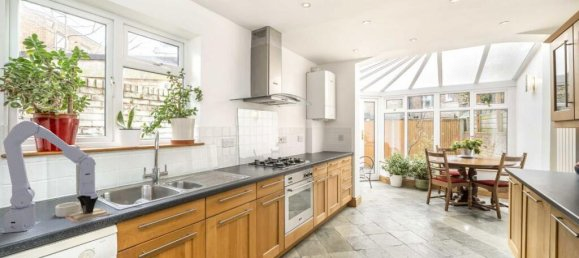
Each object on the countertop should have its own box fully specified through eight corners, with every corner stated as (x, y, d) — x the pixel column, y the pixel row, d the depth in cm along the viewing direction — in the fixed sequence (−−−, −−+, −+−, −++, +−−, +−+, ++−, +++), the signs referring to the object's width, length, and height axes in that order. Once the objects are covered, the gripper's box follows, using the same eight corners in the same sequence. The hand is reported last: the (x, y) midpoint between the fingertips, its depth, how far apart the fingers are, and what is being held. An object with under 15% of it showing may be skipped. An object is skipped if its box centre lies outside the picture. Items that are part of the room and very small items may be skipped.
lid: (106, 213, 122) (106, 204, 122) (78, 220, 113) (77, 210, 112) (96, 209, 128) (96, 200, 128) (68, 215, 118) (68, 206, 118)
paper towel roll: (98, 200, 145) (97, 162, 145) (88, 203, 139) (88, 164, 139) (86, 199, 146) (85, 162, 145) (76, 203, 140) (75, 163, 139)
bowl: (74, 216, 119) (74, 206, 119) (51, 218, 117) (50, 208, 117) (84, 210, 128) (84, 201, 128) (62, 211, 125) (62, 202, 125)
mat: (111, 213, 122) (111, 213, 122) (75, 223, 110) (75, 222, 110) (98, 208, 130) (98, 208, 130) (63, 217, 118) (63, 216, 118)
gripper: (104, 182, 119) (104, 211, 120) (90, 179, 127) (91, 206, 127) (86, 185, 113) (86, 216, 114) (73, 181, 121) (73, 210, 121)
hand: (87, 211), depth 120 cm, fingers open, 4 cm apart
